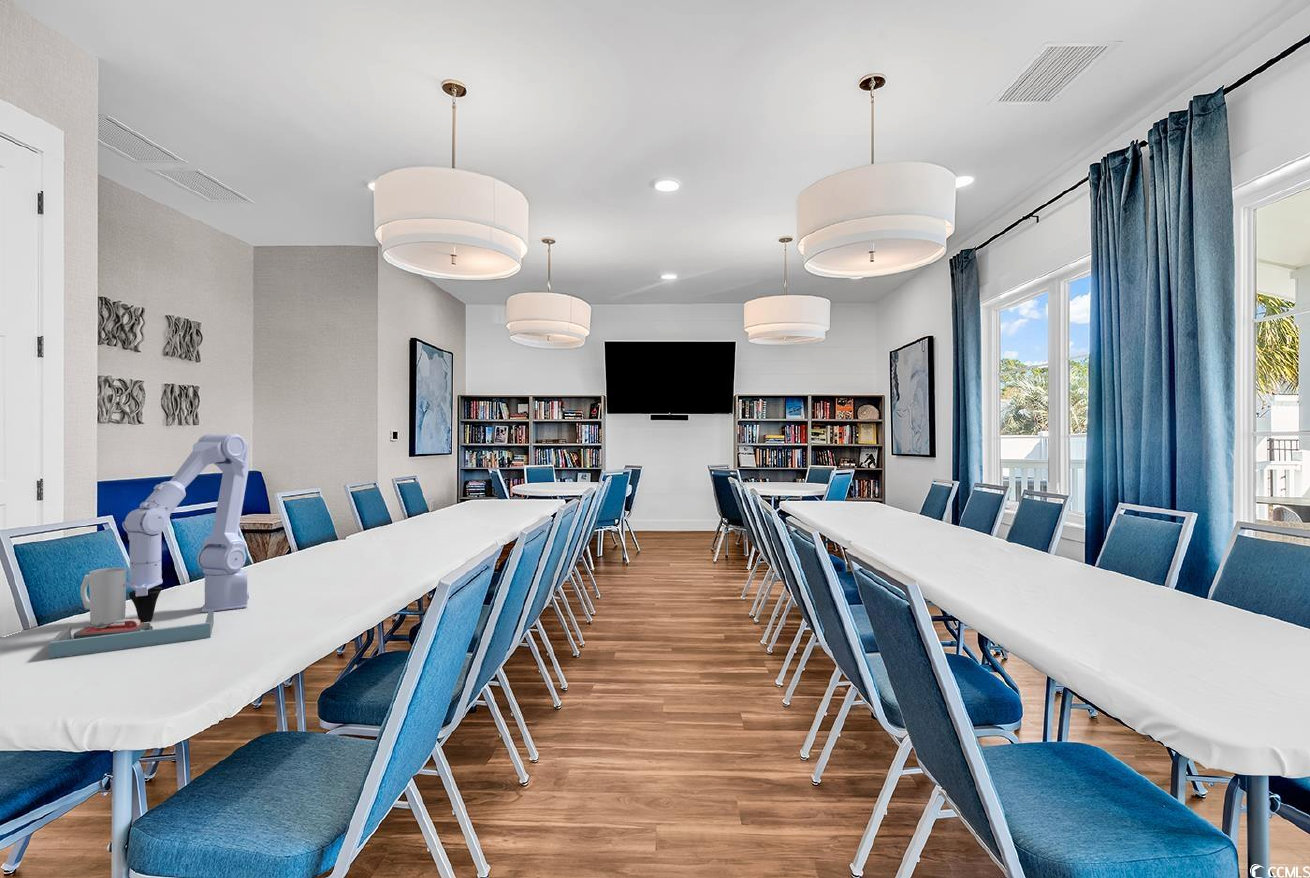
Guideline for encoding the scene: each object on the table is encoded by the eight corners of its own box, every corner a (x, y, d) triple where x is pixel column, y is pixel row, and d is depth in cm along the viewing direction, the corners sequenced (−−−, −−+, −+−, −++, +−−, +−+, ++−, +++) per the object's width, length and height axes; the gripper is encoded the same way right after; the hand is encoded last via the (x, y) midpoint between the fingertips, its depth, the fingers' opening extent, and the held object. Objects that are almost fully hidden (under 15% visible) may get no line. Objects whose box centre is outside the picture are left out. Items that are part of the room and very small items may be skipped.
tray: (213, 623, 151) (213, 610, 151) (210, 637, 140) (210, 623, 140) (64, 642, 137) (64, 627, 137) (48, 658, 127) (48, 643, 127)
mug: (134, 617, 156) (134, 567, 156) (108, 625, 149) (108, 573, 149) (94, 617, 157) (94, 567, 157) (67, 624, 150) (67, 572, 150)
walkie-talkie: (58, 652, 132) (174, 643, 137) (59, 630, 132) (174, 622, 137) (82, 640, 140) (191, 632, 146) (83, 619, 140) (191, 612, 146)
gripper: (128, 558, 152) (128, 616, 152) (117, 569, 139) (117, 632, 139) (165, 555, 155) (166, 612, 155) (158, 565, 143) (159, 627, 143)
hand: (145, 621), depth 148 cm, fingers closed
